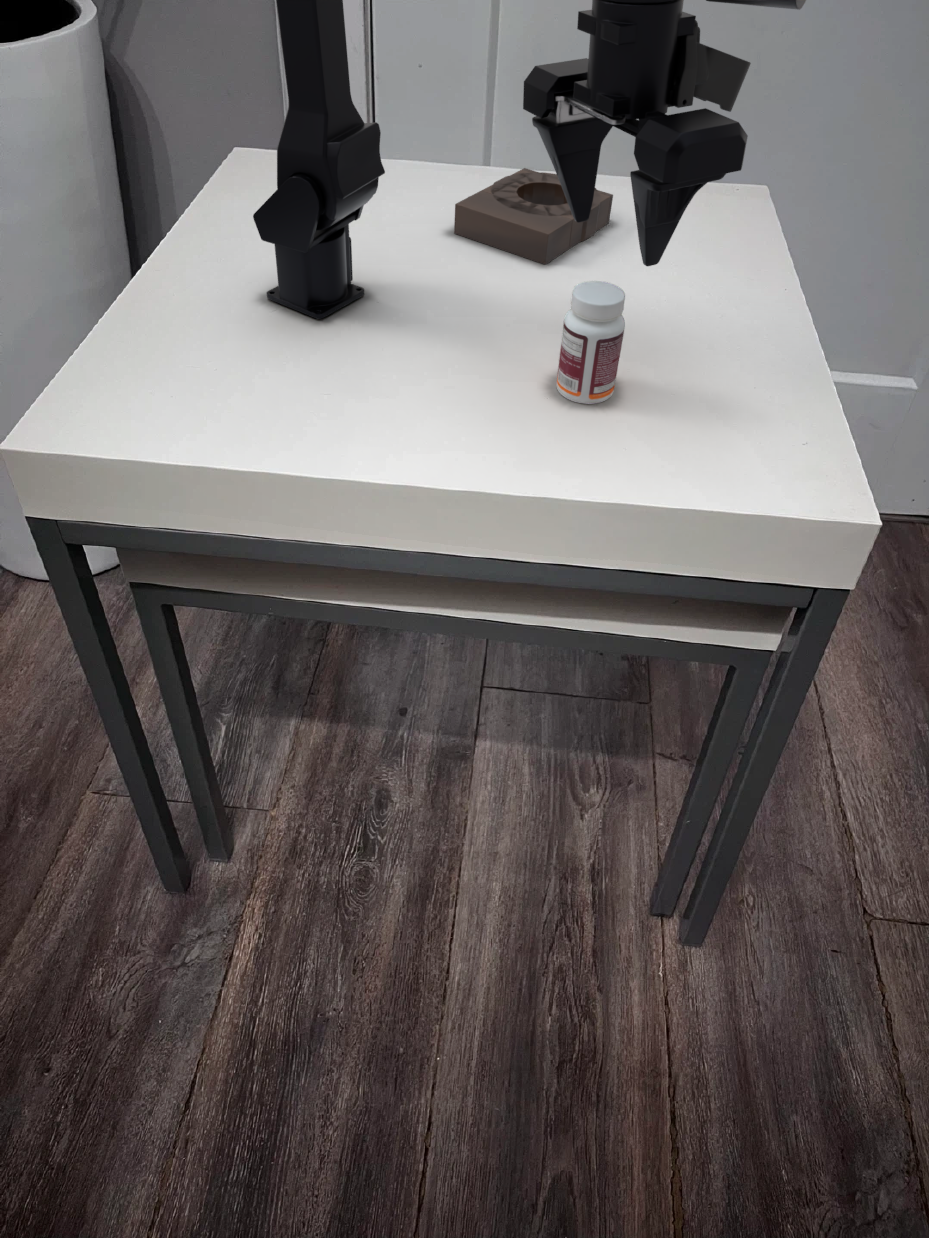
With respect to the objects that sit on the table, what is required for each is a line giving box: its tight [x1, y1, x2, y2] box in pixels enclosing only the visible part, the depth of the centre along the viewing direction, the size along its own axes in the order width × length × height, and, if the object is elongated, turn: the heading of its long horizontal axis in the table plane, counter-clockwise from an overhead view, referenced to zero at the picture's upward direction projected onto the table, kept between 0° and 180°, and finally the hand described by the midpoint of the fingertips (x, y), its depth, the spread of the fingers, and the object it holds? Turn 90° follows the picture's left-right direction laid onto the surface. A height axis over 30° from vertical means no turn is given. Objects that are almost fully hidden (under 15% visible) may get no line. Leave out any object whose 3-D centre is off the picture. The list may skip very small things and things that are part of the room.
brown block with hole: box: [453, 167, 614, 265], centre depth 100 cm, size 14×11×3 cm
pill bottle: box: [556, 280, 626, 405], centre depth 76 cm, size 5×5×8 cm
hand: (614, 242), depth 72 cm, fingers open, 9 cm apart
